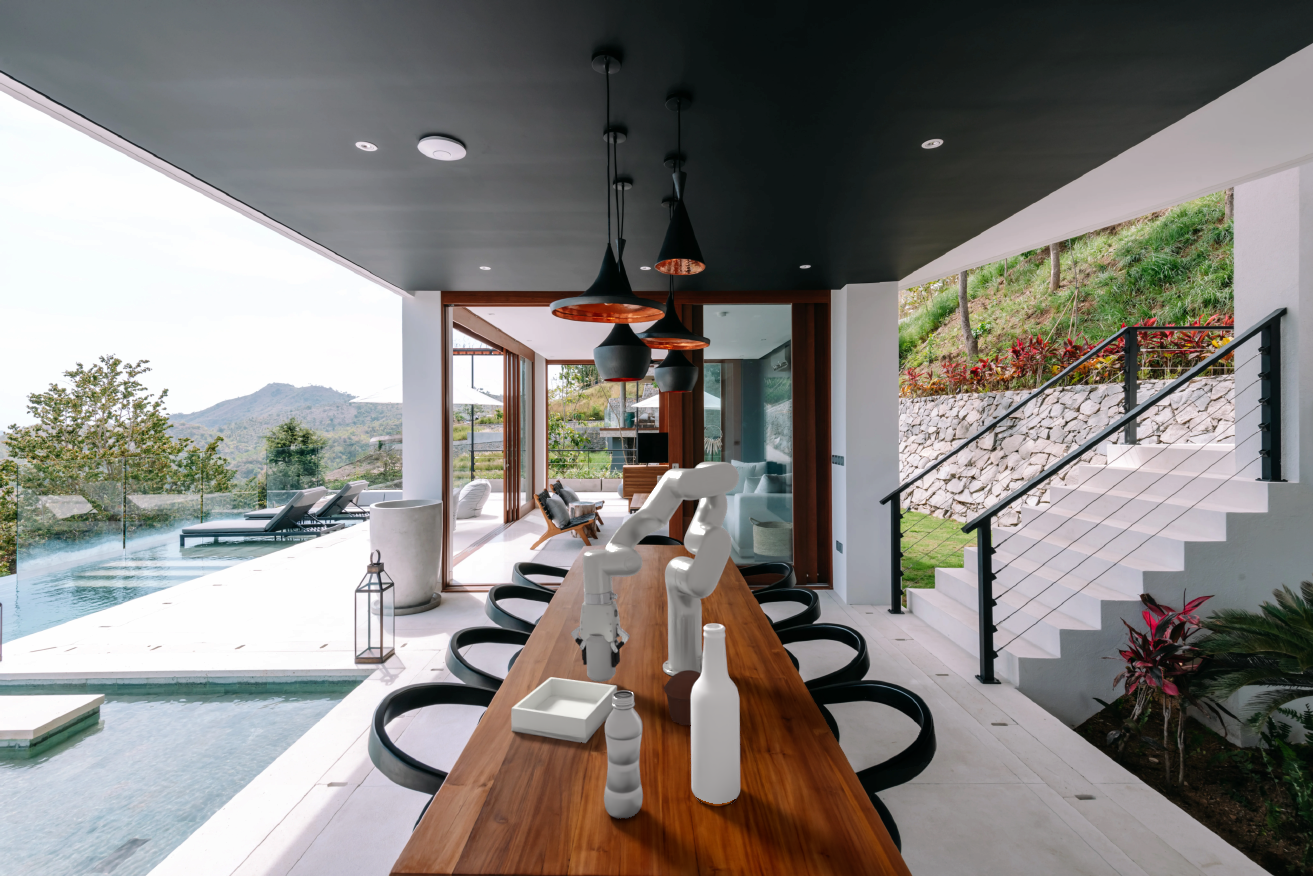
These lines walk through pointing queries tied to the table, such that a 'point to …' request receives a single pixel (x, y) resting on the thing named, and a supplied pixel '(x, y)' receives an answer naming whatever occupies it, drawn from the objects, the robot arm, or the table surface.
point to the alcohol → (715, 725)
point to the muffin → (681, 695)
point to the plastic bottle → (623, 757)
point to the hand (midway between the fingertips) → (601, 664)
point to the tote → (564, 709)
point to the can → (599, 659)
